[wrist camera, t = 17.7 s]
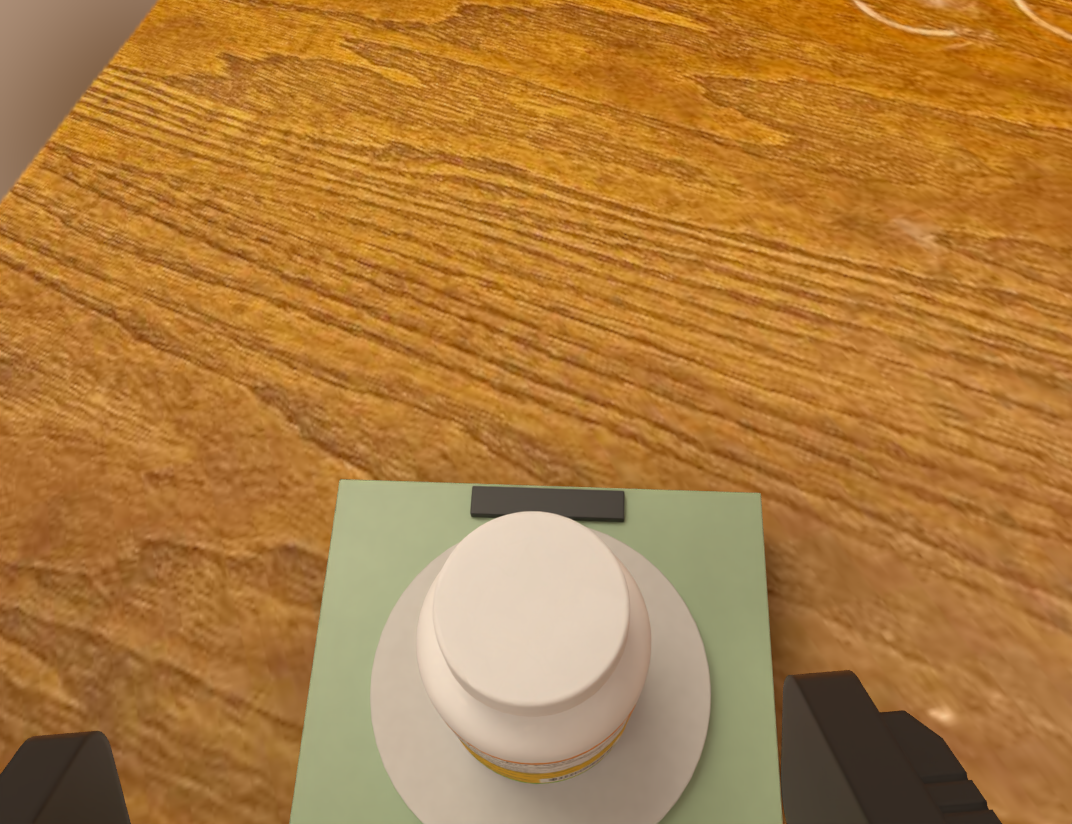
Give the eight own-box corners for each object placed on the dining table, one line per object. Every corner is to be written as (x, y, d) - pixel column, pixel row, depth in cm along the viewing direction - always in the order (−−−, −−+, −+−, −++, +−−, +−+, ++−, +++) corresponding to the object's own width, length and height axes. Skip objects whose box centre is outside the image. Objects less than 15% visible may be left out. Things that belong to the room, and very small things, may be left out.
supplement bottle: (490, 571, 29) (460, 442, 20) (656, 635, 28) (701, 528, 19) (416, 742, 27) (348, 681, 18) (594, 817, 26) (613, 791, 17)
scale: (301, 915, 28) (266, 921, 25) (356, 509, 34) (334, 469, 30) (768, 939, 28) (798, 949, 24) (744, 522, 33) (766, 483, 30)
